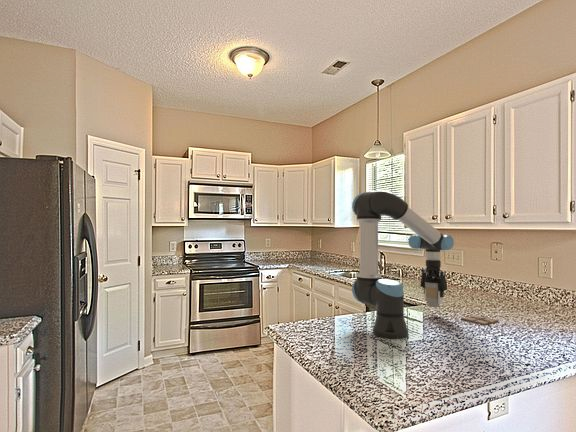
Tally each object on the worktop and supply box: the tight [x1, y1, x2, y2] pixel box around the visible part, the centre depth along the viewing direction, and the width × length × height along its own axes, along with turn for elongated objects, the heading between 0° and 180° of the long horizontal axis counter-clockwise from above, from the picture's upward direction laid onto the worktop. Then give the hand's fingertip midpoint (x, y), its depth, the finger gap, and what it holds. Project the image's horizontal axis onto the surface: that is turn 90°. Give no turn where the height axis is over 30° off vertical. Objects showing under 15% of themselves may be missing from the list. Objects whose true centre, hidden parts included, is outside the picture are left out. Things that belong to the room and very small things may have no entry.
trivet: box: [460, 314, 499, 326], centre depth 177 cm, size 12×12×1 cm
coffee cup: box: [424, 277, 441, 308], centre depth 190 cm, size 9×9×15 cm
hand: (433, 301), depth 189 cm, fingers closed on coffee cup, 8 cm apart
